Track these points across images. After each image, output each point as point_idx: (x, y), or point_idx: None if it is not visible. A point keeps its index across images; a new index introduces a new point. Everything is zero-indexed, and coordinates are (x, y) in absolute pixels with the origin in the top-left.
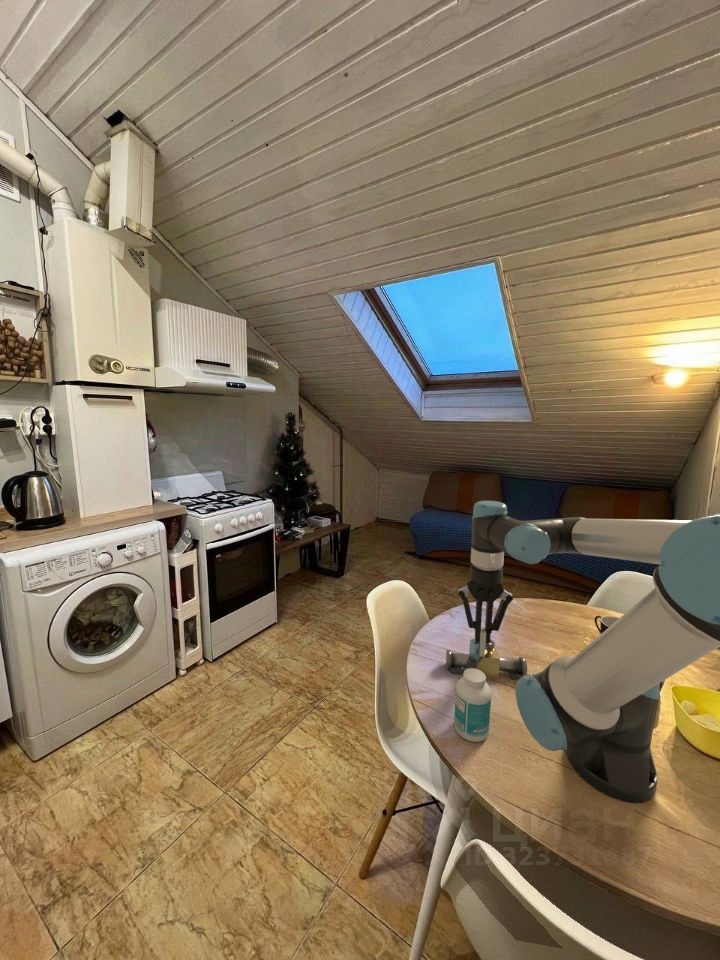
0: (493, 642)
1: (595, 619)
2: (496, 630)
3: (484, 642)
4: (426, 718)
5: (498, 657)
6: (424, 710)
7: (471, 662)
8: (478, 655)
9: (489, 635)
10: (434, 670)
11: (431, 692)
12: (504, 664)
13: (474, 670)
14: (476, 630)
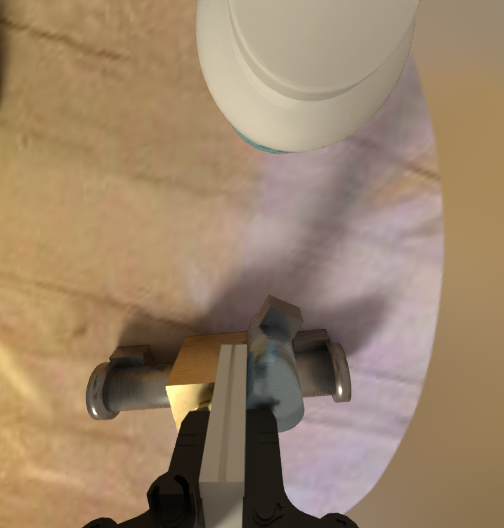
0: None
1: None
2: (99, 524)
3: (217, 407)
4: (425, 106)
5: (171, 392)
6: (427, 143)
7: (282, 312)
8: (251, 348)
9: (177, 465)
10: (373, 330)
11: (393, 233)
12: (158, 379)
13: (318, 60)
14: (280, 494)
